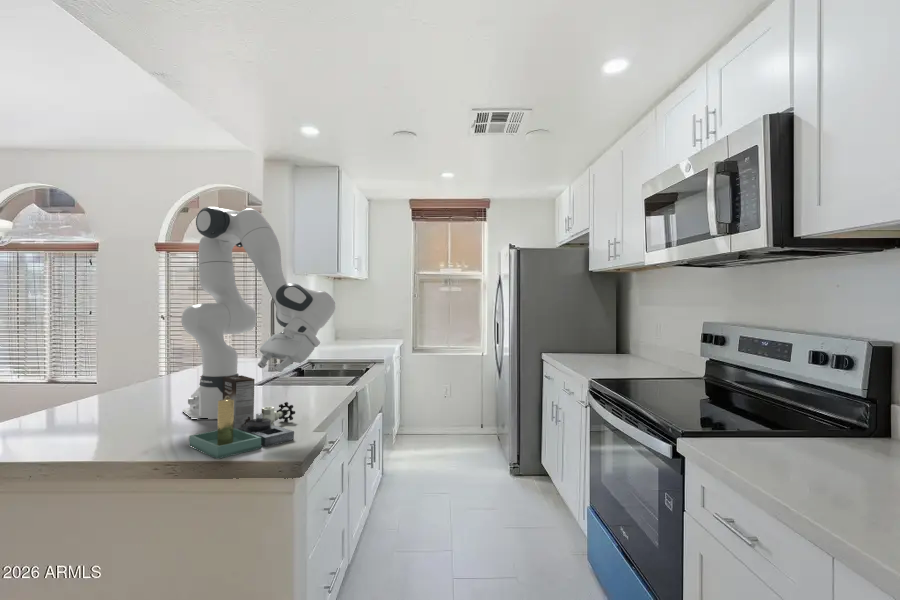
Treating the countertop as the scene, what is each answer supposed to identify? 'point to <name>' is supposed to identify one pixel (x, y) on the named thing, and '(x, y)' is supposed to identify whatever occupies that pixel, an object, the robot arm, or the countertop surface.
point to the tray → (239, 445)
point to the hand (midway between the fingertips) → (268, 368)
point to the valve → (278, 413)
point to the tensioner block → (267, 431)
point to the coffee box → (240, 398)
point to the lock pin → (225, 421)
